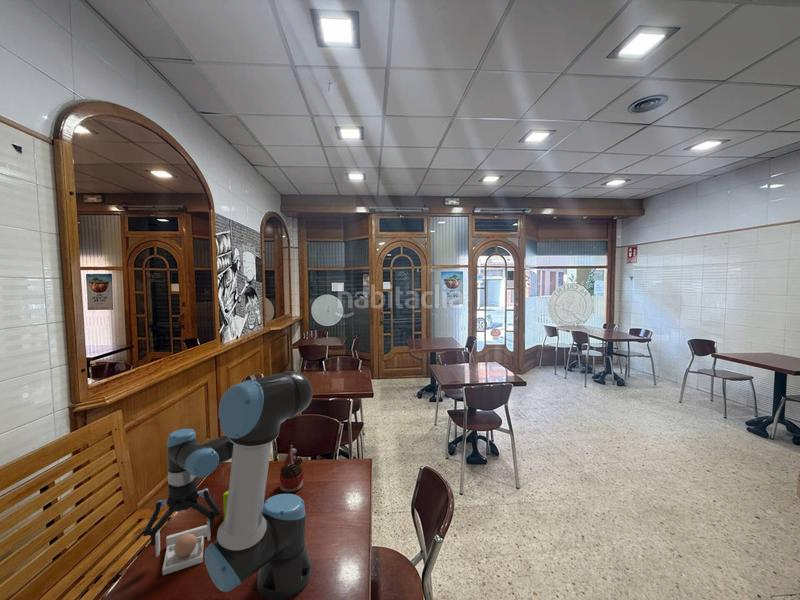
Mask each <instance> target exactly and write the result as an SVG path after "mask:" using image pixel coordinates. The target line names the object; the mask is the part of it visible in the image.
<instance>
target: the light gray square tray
mask: <svg viewBox="0 0 800 600" xmlns="http://www.w3.org/2000/svg"><path fill="white" fill-rule="evenodd" d="M196 540H197V543H196V547H195V549H194V550H193V552H192V553H190V554H189V555H187V556H185V557H179V556H177V555H176V554H175V551H174V547H175V544H172V545H169V546H166V551H165V555H164V561H163V565H162V576H165V575H168V574H172V573H174V572H177V571H181V570H183V569H186V568H189V567H192V566H196V565H199V564H201V563H203V559H204V558H203V556H204V544H205V538H204V535H202V536H199V537H196Z"/></svg>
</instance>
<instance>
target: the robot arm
mask: <svg viewBox="0 0 800 600" xmlns="http://www.w3.org/2000/svg"><path fill="white" fill-rule="evenodd" d="M313 392H314V390H313V386H312V384H311V381H310V380H309V379H308V377H306V376H305V375H304V374H303V373H300V372H297V371H292V370H291V371H289V370H286V371H282V372H279V373H274V374H270V375H266V376H263V377H259V378H255V379H248V380H247V379H245V380H244V381H242V382H239V383H237V384H234V385H232V386H230V387H229V388H228V389H226V391H225V392H224V393H223V394H222V396H221V399H220V402H219V406H218V415H217V416H218V419H219V426H220V429H221V431H222V433H223V434H224V435H223V436H219V437H217V438H214V439H211V440H210V441H206V442H203V443H201V442H199V441H197V436H196V435H197V434H196V430H195V429H193V428H181V429H177V430H174V431H172V432H171V433H170V434H168V436H167V442H166V453H167V455H166V457H167V458H166V459H167V484H168V486H167V487H168V489H167V490H168V494H167V495H168V497H167V499H162V498H158V499H157V500H156V503H155V508H154V510H153V513H152V515H151V516H150V519H149V520H148V522H147V524H146V526H145V528H144V530H143V534H142V536H143V537H147V536H150V545H151V546H155V557H156V558H157V557H159V556H160V553H161V533H160V532H161V530H160V529H161V528H162V527H163V525H164V524H165V523H166V522H167V521H168V519H169V518H170V517H172V515H173V514H174V513H175V512H177V513H179V512H182V511H186V510H189V509H190V508H191V509H193V510H196V511H197V512H198V513H200V514H201V515H202V516H205V518H207V519H206V525H207V537H206V538H207V542H208V541H211V529H214V528H215V518H216V517H219V516H220V514H221V508H220V506H219V505H218V504H217V502H216V501H215V500H214V499H213V497H212V495H211V494H210V492H209V487H204V488H203V489H202V490H198V481H197V478H205V477H208V476H210V475H211V474H212V473H214V471H216V469H217V468H218V466H219V465H220V464H223V463H224V462H227V461H229V460H231V462H230V464H231V465H230V474H229V482H228V483H229V484H228V500H227V509H226V518H225V520H224V519H223V521H222V522H221V524H220V525H219V527H218V529H217V531H216V538H215V539H216V540H215V541H213V542H211V543H210V544H209V545H208V546H207V547H206V548H205V550H204V551H203V556H204V558H203V559H204V563H205V566H206V570H207V572H208V575H209V577H210V579H211V581H212V582H213V584H214V586H215V587H216V588H217V589H218V590H219V591H221V592H224V593H228V592H231V591H232V590H234V589H235V588H236V587H238V586H241V585H242V583H243V582H245V581H246V580H247V579H249V578H250V577H251V576H253V575H254V574H255V573H256V572H257V571H258V573H257V578H256V580H257V582H256V583H257V590H258V592H259V594H260V595H261V596H262V597H263V598H264V599H267V600H285V599H288V598H291V597H292V596H295V595H296V594H298V593H299V592H301V591H302V590H303V589H304V588H305V587H306V586H307V585H308V583H309V581H310V579H311V576H312V559H311V557H310V554H309V552H308V549H307V547H306V516H307V515H306V510H305V509H306V508H305V501H304V499H302V497H300V496H299V495H296V494H293V493H280V494H275V495H273V496H271V497H268V498H267V499H266V500H265V495H266V487H267V480H268V472H269V465H270V456H271V450H272V443H273V442H274V441H275V440H277V438H278V437H279V435H280V431H281V429H280V428H281V424H282V423H284V422H285V421H286V420H288V419H293V418H295V417H297V416H298V415H300V414H301V413H302V412H304V411H305V410H306V409H307V408H308V407H309V406H310V404H311V402H312V400H313V395H314V393H313ZM199 497H201V498H202V499H204V501H205V502H206V504H207V505H208V507H207V506H206V505H205V504H203V503H202V502H200V500H199V499H198V498H199ZM263 504H264V505H263ZM165 505H167V506H168V508H167V510H166V511H165V513H164V514H163V515H161V517H160V518H159V520H158V521H157V522H156V519H157V517H158V516H159V514H160V512H161V509H163V508H164V506H165ZM209 507H210V508H209ZM155 522H156V524H155ZM154 524H155V525H154Z"/></svg>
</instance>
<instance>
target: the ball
mask: <svg viewBox="0 0 800 600" xmlns="http://www.w3.org/2000/svg"><path fill="white" fill-rule="evenodd" d="M196 543H197V540H196V537H195V536H194V535H193V534H185V535H183V536H181V537H180V538H179V539H178V540H177V542H176V544H175V547H174V551H175V554H176V555H177V556H179V557H185V556H187V555H189V554H190V553H192V552H193V550H194V549H195V547H196Z"/></svg>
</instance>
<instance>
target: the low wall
mask: <svg viewBox="0 0 800 600" xmlns="http://www.w3.org/2000/svg"><path fill="white" fill-rule="evenodd" d="M185 534H193V535H194V536H195V537H199V536H202V535H204V539H205V538H207V524H205V525H201V526H198V527H195V528H191V529H188V530H183V531H180V532H178V533H177V532H176V533H173V534H170V535H167V536H166V542H165V543H166V547H167V546H169V545H172V544H176V542H177V540H178V539H179V538H180V537H181V536H183V535H185Z"/></svg>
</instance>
